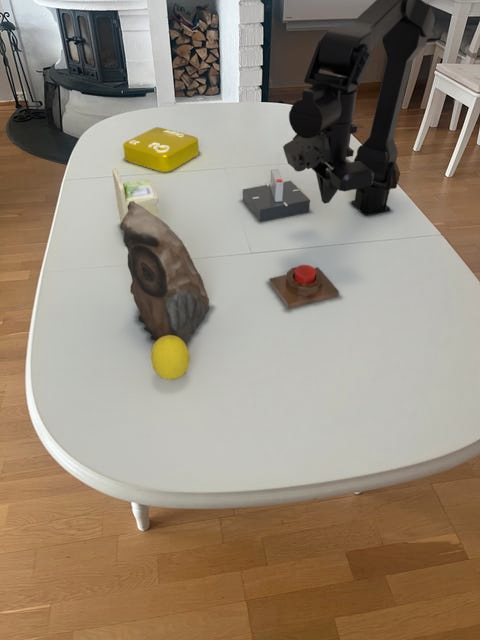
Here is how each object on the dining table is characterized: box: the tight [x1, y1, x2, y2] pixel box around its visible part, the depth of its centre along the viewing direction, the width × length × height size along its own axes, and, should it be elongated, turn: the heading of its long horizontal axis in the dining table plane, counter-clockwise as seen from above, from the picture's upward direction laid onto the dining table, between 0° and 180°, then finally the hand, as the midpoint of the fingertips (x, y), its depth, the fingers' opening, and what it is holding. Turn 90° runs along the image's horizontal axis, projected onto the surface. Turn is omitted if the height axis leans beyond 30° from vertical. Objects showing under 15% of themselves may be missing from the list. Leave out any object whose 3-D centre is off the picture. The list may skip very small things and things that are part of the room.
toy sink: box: [111, 168, 159, 233], centre depth 105 cm, size 8×7×13 cm
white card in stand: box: [269, 167, 284, 202], centre depth 114 cm, size 7×2×5 cm, turn 6°
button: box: [294, 264, 316, 284], centre depth 92 cm, size 4×4×2 cm
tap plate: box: [242, 180, 311, 223], centre depth 117 cm, size 12×11×3 cm
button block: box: [269, 266, 340, 310], centre depth 94 cm, size 10×8×3 cm
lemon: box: [150, 335, 191, 381], centre depth 76 cm, size 6×6×8 cm
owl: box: [119, 201, 211, 345], centre depth 81 cm, size 13×13×20 cm
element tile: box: [122, 126, 200, 173], centre depth 136 cm, size 15×15×5 cm
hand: (325, 202), depth 96 cm, fingers closed
